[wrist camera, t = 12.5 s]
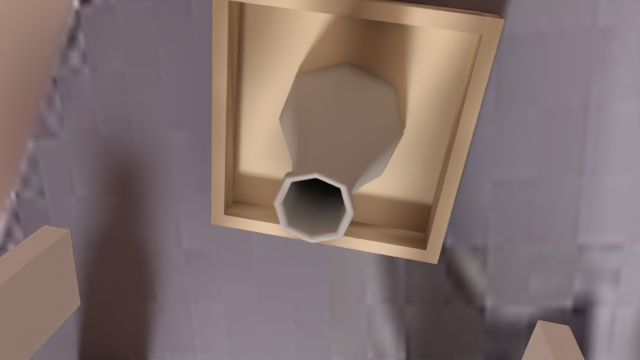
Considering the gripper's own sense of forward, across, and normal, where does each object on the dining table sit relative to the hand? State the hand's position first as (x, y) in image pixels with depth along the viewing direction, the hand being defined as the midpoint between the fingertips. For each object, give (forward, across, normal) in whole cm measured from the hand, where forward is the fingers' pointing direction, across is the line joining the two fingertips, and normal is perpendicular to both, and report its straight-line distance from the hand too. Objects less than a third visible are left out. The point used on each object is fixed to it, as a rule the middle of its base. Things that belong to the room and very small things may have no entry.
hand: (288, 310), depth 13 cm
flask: (+16, 0, 0) cm, 16 cm away
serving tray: (+16, 0, 0) cm, 16 cm away
